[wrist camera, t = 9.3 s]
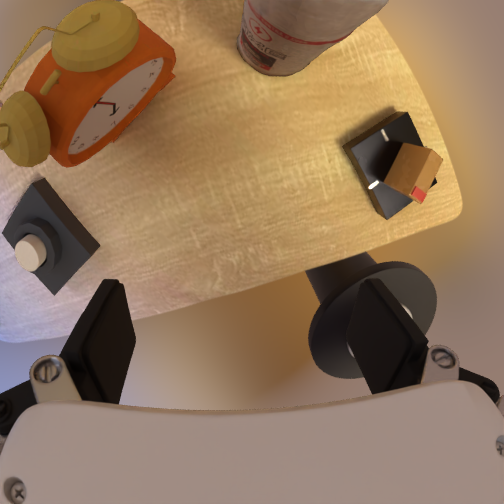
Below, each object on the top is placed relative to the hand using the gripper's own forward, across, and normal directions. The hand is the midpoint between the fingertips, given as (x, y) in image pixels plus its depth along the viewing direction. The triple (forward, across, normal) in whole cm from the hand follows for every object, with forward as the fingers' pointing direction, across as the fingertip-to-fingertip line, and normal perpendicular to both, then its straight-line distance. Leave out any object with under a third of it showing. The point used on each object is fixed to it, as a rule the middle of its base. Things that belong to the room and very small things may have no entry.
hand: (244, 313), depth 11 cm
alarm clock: (+23, +12, -10) cm, 28 cm away
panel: (+22, -19, -4) cm, 30 cm away
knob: (+20, -19, -4) cm, 28 cm away
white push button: (+18, +24, +6) cm, 31 cm away
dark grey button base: (+23, +24, +6) cm, 34 cm away
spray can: (+23, -4, -16) cm, 28 cm away
